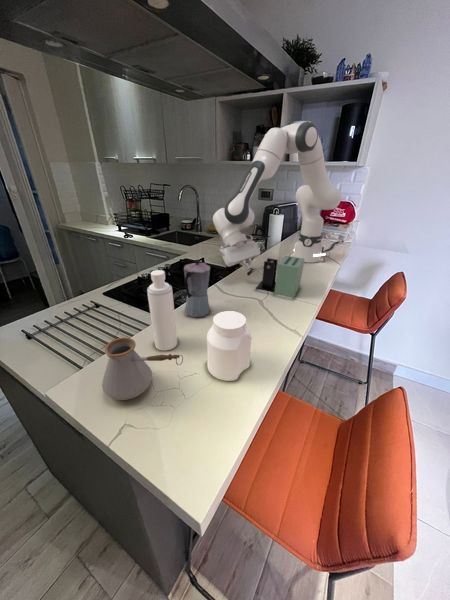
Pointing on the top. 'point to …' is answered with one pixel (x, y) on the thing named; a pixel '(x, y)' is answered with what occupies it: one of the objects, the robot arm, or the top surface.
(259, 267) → the lever
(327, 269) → the top surface
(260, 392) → the top surface
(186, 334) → the top surface
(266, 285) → the lever bracket
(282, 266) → the toaster body
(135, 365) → the coffee pot
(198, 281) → the moka pot
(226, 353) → the jar
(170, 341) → the white bottle
